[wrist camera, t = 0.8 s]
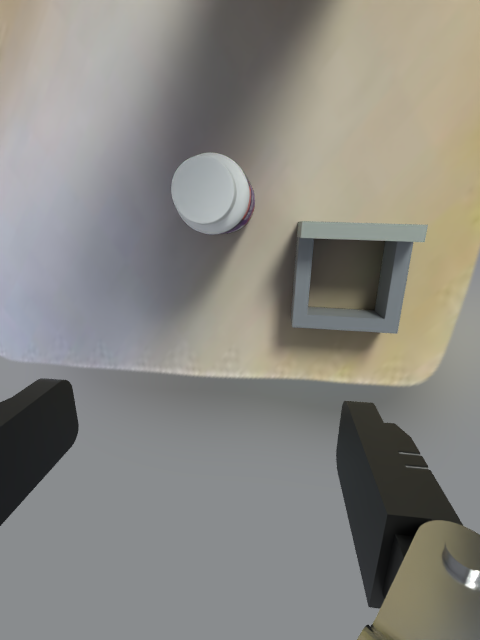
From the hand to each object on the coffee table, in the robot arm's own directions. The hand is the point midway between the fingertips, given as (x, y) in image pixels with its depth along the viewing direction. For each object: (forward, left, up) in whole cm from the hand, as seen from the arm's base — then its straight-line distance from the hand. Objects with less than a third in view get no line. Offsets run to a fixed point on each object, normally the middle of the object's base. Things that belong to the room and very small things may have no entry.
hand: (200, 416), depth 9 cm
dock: (-1, +8, -22) cm, 24 cm away
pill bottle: (-7, -3, -23) cm, 24 cm away
